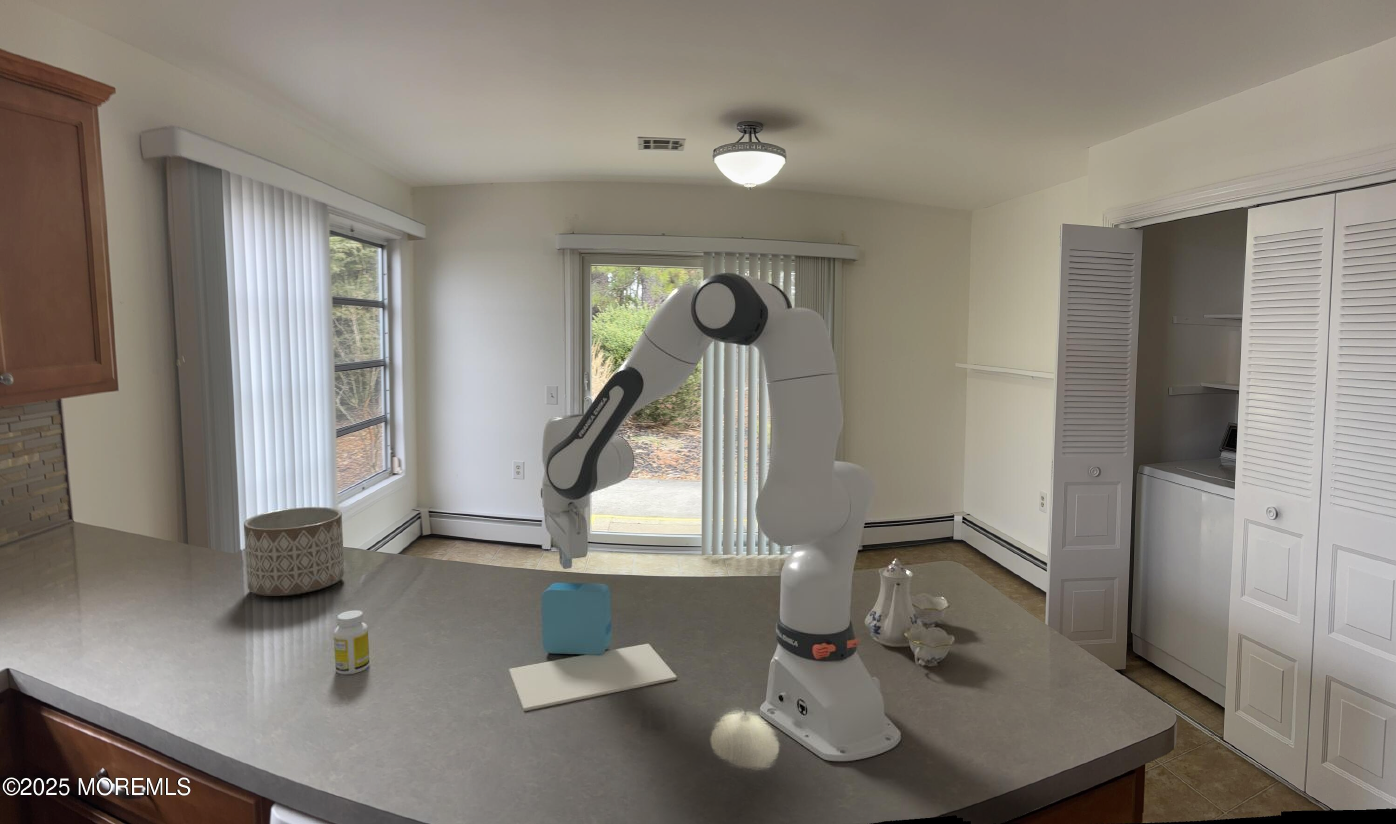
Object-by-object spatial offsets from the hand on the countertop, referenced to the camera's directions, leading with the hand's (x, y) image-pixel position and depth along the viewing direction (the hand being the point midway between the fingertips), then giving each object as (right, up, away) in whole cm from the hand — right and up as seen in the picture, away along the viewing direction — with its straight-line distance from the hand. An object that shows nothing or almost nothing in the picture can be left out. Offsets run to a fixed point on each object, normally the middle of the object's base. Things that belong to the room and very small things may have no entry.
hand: (565, 566), depth 136 cm
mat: (+7, -16, -15) cm, 23 cm away
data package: (+3, -15, -6) cm, 16 cm away
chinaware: (+67, -15, +1) cm, 69 cm away
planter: (-67, -10, +25) cm, 72 cm away
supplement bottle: (-35, -15, -13) cm, 40 cm away
